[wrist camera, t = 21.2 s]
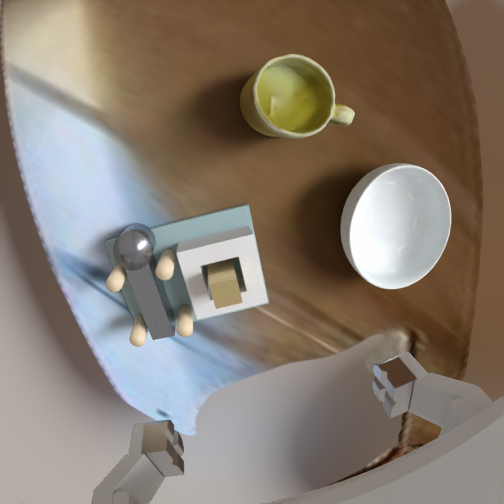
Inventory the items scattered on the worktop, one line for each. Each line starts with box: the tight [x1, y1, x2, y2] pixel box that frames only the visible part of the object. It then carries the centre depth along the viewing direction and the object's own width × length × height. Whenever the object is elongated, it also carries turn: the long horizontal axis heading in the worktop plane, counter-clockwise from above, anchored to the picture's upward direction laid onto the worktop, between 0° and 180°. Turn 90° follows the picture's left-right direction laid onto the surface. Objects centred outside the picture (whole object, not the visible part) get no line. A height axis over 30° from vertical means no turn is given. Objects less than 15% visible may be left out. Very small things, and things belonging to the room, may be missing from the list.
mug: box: [240, 54, 355, 139], centre depth 33 cm, size 12×10×10 cm
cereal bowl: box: [340, 163, 451, 289], centre depth 40 cm, size 17×17×7 cm
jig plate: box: [104, 204, 269, 347], centre depth 39 cm, size 14×19×6 cm
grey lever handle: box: [113, 224, 176, 340], centre depth 38 cm, size 14×5×4 cm, turn 11°
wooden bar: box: [207, 258, 243, 309], centre depth 37 cm, size 3×3×8 cm
